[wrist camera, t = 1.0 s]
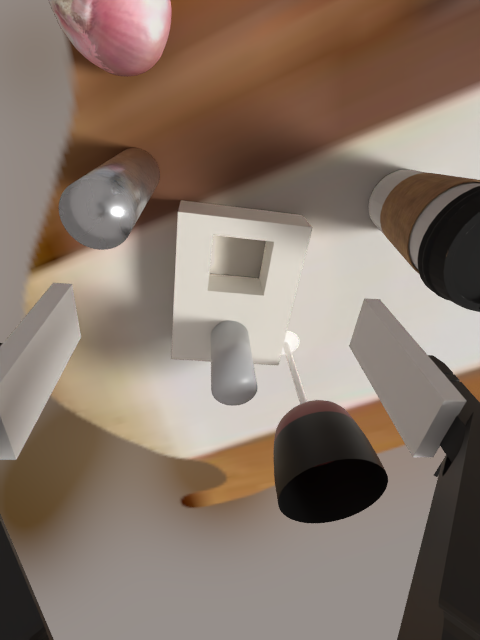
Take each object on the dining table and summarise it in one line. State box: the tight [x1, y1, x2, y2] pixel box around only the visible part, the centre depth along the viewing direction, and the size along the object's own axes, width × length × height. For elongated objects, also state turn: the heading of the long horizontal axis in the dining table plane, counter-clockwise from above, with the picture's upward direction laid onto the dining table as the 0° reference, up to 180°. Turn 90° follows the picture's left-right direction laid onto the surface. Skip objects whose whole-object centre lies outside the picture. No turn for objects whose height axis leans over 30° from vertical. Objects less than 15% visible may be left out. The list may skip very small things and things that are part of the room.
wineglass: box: [274, 331, 388, 523], centre depth 36 cm, size 8×9×20 cm
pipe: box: [59, 148, 160, 250], centre depth 26 cm, size 4×4×14 cm
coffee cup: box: [368, 169, 480, 312], centre depth 29 cm, size 8×8×15 cm
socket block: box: [171, 200, 313, 405], centre depth 33 cm, size 16×12×12 cm
